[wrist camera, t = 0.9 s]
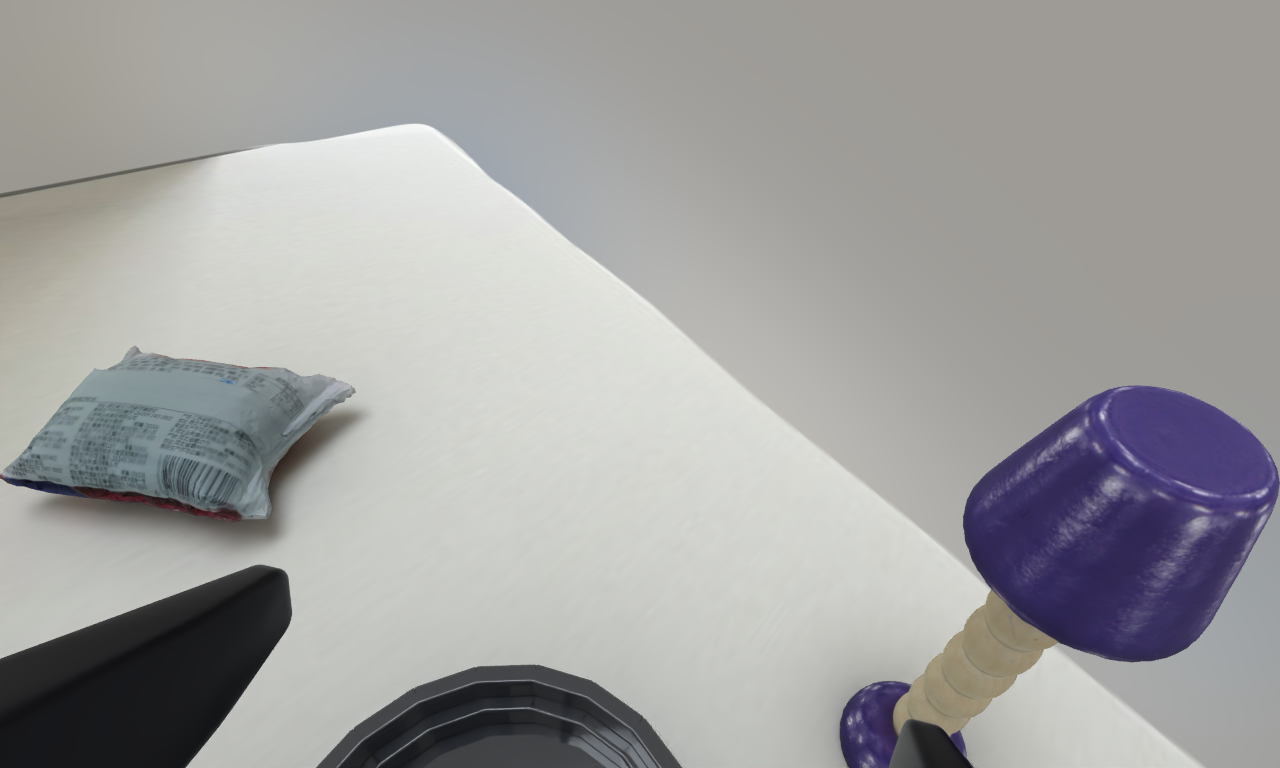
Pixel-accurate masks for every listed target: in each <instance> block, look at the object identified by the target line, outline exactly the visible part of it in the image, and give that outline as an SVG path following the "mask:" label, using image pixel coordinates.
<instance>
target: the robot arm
mask: <svg viewBox="0 0 1280 768" xmlns="http://www.w3.org/2000/svg"><path fill="white" fill-rule="evenodd" d="M291 616H292V607H291V598H290V589H289V580H288V575H287V574H286V572H285V571H284V570H282V569H279V568H275V567H270V566H266V565H255V566H252V567H249V568H246V569H244V570H241V571H238V572H235V573H233V574H230V575H227V576H224V577H222V578H219V579H216V580H214V581H211V582H208V583H205V584H203V585H200V586H197V587H195V588H192V589H189V590H186V591H184V592H181V593H178V594H175V595H173V596H170V597H167V598H165V599H162V600H159V601H156V602H154V603H151V604H148V605H146V606H143V607H140V608H137V609H135V610H132V611H129V612H127V613H124V614H121V615H118V616H116V617H113V618H110V619H107V620H105V621H102V622H99V623H97V624H94V625H91V626H88V627H86V628H83V629H80V630H78V631H75V632H72V633H69V634H67V635H64V636H61V637H58V638H56V639H53V640H50V641H48V642H45V643H42V644H39V645H37V646H34V647H31V648H29V649H26V650H23V651H20V652H18V653H15V654H12V655H9V656H7V657H4V658H1V659H0V768H186V766H187V765H188V764H189V763H190V762H191V760H192V759H193V758H194V757H195V756H196V754H197V753H198V752H199V751H200V749H201V748H202V747H203V746H204V745H205V743H206V742H207V741H208V740H209V738H210V737H211V736H212V735H213V733H214V732H215V731H216V730H217V728H218V727H219V726H220V725H221V723H222V722H223V720H224V719H225V718H226V716H227V715H228V714H229V712H230V711H231V710H232V708H233V707H234V705H235V704H236V702H237V701H238V700H239V698H240V697H241V695H242V694H243V692H244V691H245V689H246V688H247V687H248V685H249V684H250V682H251V681H252V679H253V678H254V676H255V675H256V674H257V672H258V671H259V669H260V668H261V666H262V665H263V663H264V662H265V661H266V659H267V658H268V656H269V655H270V653H271V652H272V650H273V649H274V647H275V646H276V645H277V643H278V642H279V640H280V639H281V637H282V636H283V634H284V633H285V632H286V630H287V628H288V626H289V624H290V621H291ZM889 768H974V767H973V766H972V765H971V763H970V762H969V761H968V760H967V758H966V757H965V756H964V755H963V753H962V752H961V751H960V749H959V748H958V747H957V746H956V744H955V743H954V742H953V741H952V739H951V738H950V737H949V735H948V734H947V733H946V732H945V731H944V729H942V728H941V727H940V726H938V725H936V724H932V723H928V722H924V721H920V720H915V719H908V720H906V722H905V723H904V724H903V726H902V729H901V732H900V735H899V738H898V741H897V744H896V746H895V749H894V752H893V755H892V758H891V761H890V765H889Z"/></svg>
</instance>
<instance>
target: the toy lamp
mask: <svg viewBox="0 0 1280 768" xmlns="http://www.w3.org/2000/svg"><path fill="white" fill-rule="evenodd" d="M1279 484H1280V482H1279V477H1278V471H1277V468H1276V466H1275V463H1274V461H1273V459H1272V457H1271V455H1270V454H1269V452H1268V451H1267V450H1266V449H1265V447H1264V446H1263V445H1262V443H1261V442H1260V441H1259V440H1258V439H1257V438H1256V437H1255V436H1254V435H1253V434H1252V433H1251V431H1250V430H1249V429H1247V428H1246V427H1245V426H1243V425H1242V424H1241V423H1239V422H1238V421H1237V420H1236V419H1234V418H1233V417H1231V416H1229V415H1228V414H1226V413H1224V412H1223V411H1221V410H1219V409H1217V408H1216V407H1214V406H1211V405H1209V404H1207V403H1205V402H1203V401H1201V400H1199V399H1197V398H1194V397H1192V396H1189V395H1187V394H1184V393H1182V392H1178V391H1174V390H1170V389H1165V388H1158V387H1151V386H1124V387H1117V388H1113V389H1109V390H1107V391H1104V392H1102V393H1100V394H1098V395H1096V396H1093V397H1091V398H1089V399H1088V400H1086V401H1085V402H1083V403H1082V404H1080V405H1079V406H1078V407H1076V408H1075V409H1073V410H1072V411H1070V412H1069V413H1068V414H1067V415H1065V416H1064V417H1062V418H1061V419H1059V420H1058V421H1057V422H1055V423H1054V424H1052V425H1051V426H1050V427H1048V428H1047V429H1045V430H1044V431H1043V432H1042V433H1040V434H1039V435H1037V436H1036V437H1034V438H1033V439H1032V440H1030V441H1029V442H1027V443H1026V444H1025V445H1023V446H1022V447H1021V448H1019V449H1018V450H1017V451H1015V452H1014V453H1013V454H1011V455H1010V456H1009V457H1008V458H1006V459H1005V460H1003V461H1002V462H1001V463H999V464H998V465H997V466H996V467H994V468H993V469H992V470H990V471H989V472H988V473H986V474H985V476H984V477H983V478H982V479H981V480H980V481H979V482H978V483H977V484H976V485H975V487H974V488H973V490H972V491H971V493H970V495H969V497H968V499H967V502H966V507H965V512H964V516H963V528H964V534H965V542H966V545H967V547H968V549H969V552H970V555H971V558H972V561H973V562H974V564H975V566H976V568H977V570H978V571H979V572H980V574H981V575H982V577H983V578H984V579H985V581H986V583H987V584H988V586H989V587H990V588H991V591H990V593H989V594H988V597H987V600H986V604H985V605H983V606H981V607H980V608H978V609H977V610H976V611H975V612H974V613H973V614H972V615H971V616H970V617H969V619H968V620H967V622H966V624H965V627H964V630H963V631H961V632H959V633H958V634H956V635H955V636H954V637H953V638H952V639H951V640H950V641H949V642H948V644H947V645H946V647H945V649H944V652H943V653H941V654H940V655H938V656H936V657H935V658H934V659H933V660H932V661H931V662H930V663H929V665H928V666H927V668H926V670H925V673H924V674H923V675H922V676H920V677H919V678H917V679H916V680H915V681H914V683H913V684H912V685H910V684H907V683H903V682H896V681H883V682H878V683H873V684H871V685H869V686H866V687H865V688H863V689H861V690H860V691H858V692H857V693H856V694H855V695H854V696H853V697H852V698H851V699H850V700H849V702H848V703H847V705H846V707H845V708H844V711H843V716H842V719H841V723H840V726H841V728H840V738H841V746H842V749H843V753H844V757H845V759H846V761H847V763H848V765H849V767H850V768H889V765H890V761H891V758H892V755H893V752H894V749H895V746H896V744H897V741H898V738H899V735H900V732H901V729H902V726H903V724H904V723H905V722H906V720H908V719H915V720H920V721H924V722H928V723H932V724H936V725H938V726H940V727H941V728H942V729H944V731H945V732H946V733H947V734H948V735H949V737H950V738H951V739H952V741H953V742H954V743H955V744H956V746H957V747H958V748H959V749H960V751H961V752H962V753H963V755H964V756H965V757H966V758H967V753H966V748H965V743H964V740H963V737H962V734H961V732H960V729H962V728H963V727H964V726H965V725H966V724H967V723H968V721H969V719H970V718H971V717H974V716H976V715H978V714H980V713H981V712H982V711H984V710H985V709H986V707H987V706H988V705H989V704H990V702H991V700H992V698H995V697H997V696H999V695H1001V694H1002V693H1004V692H1005V691H1006V690H1007V689H1009V688H1010V687H1011V685H1012V684H1013V683H1014V681H1015V680H1016V677H1017V675H1019V674H1021V673H1023V672H1025V671H1027V670H1028V669H1030V668H1031V667H1032V666H1033V665H1034V664H1035V663H1036V662H1037V661H1038V660H1039V658H1040V657H1041V655H1042V652H1043V650H1044V649H1047V648H1050V647H1052V646H1053V645H1055V644H1056V643H1058V642H1059V643H1061V644H1064V645H1067V646H1069V647H1072V648H1074V649H1077V650H1080V651H1083V652H1086V653H1089V654H1094V655H1097V656H1100V657H1102V658H1105V659H1110V660H1116V661H1127V662H1140V661H1154V660H1158V659H1163V658H1167V657H1169V656H1172V655H1175V654H1177V653H1179V652H1181V651H1182V650H1184V649H1186V648H1188V647H1189V646H1190V645H1191V644H1192V643H1193V642H1194V641H1196V640H1197V639H1198V638H1199V637H1200V635H1201V634H1202V633H1203V632H1204V630H1205V629H1206V628H1207V627H1208V625H1209V624H1210V623H1211V621H1212V619H1213V618H1214V616H1215V614H1216V612H1217V611H1218V609H1219V607H1220V605H1221V604H1222V602H1223V600H1224V598H1225V596H1226V594H1227V593H1228V591H1229V589H1230V588H1231V586H1232V584H1233V582H1234V581H1235V579H1236V577H1237V576H1238V574H1239V572H1240V570H1241V569H1242V567H1243V565H1244V563H1245V561H1246V559H1247V558H1248V555H1249V553H1250V552H1251V550H1252V548H1253V546H1254V544H1255V542H1256V541H1257V539H1258V537H1259V535H1260V533H1261V532H1262V530H1263V528H1264V526H1265V524H1266V523H1267V520H1268V518H1269V517H1270V515H1271V513H1272V511H1273V508H1274V505H1275V503H1276V500H1277V497H1278V492H1279Z"/></svg>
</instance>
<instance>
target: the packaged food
mask: <svg viewBox="0 0 1280 768" xmlns="http://www.w3.org/2000/svg"><path fill="white" fill-rule="evenodd" d="M354 393H356V392H355V388H353V387H352V386H351V385H349V384H347V383H345V382H342V381H337V380H336V379H335V378H331V377H326V376H323V375H321V374H318V375H314V376H307V377H301V376H299V375H297V374H295V373H293V372H292V371H289V370H287V369H285V368H276V367H256V368H248V367H242V366H236V365H229V364H223V363H216V362H210V361H203V360H193V359H173V358H170V357H167V356H162V355H158V354H154V353H141V352H140V351H139V349H138V348H137V347H136V346H134V347H132V348H130V349H129V351H128V352H127V353H126V355H125V357H124V359H123V360H122V361H121V362H120V363H119V364H117V365H115V366H113V367H111V368H109V369H107V370H98V369H94V370H93V371H92V372H91V373H90V374H89V375H88V376H87V378H86V379H85V380H84V381H83V382H82V383H81V384H80V385H79V386H78V387H77V388H76V390H75V391H74V392H73V393H72V394H71V396H70V397H69V398H68V399H67V400H66V401H65V402H64V403H63V405H62V406H61V407H60V408H59V409H58V411H57V412H56V413H55V414H54V415H53V417H52V418H51V419H50V420H49V422H48V423H47V424H46V425H45V426H44V428H43V429H42V430H41V431H40V432H39V433H38V434H37V435H36V436H35V437H34V438H33V440H32V441H31V443H30V445H29V446H28V448H27V449H26V450H25V451H24V452H23V453H22V454H21V455H20V456H19V457H18V458H17V459H16V460H15V461H14V462H12V463H11V464H10V465H9V466H8V467H7V468H5V469H4V470H3V472H2V473H1V474H0V479H3V480H4V481H6V482H7V483H9V484H12V485H15V486H24V487H28V488H31V489H35V490H40V491H44V492H48V493H55V494H62V495H70V496H77V497H84V498H95V499H109V500H112V501H124V502H143V503H145V504H148V505H151V506H154V507H158V508H167V509H170V510H174V511H182V512H187V513H190V514H193V515H197V516H209V517H211V518H214V519H221V520H224V521H229V522H235V521H240V520H243V519H269V516H270V514H271V512H272V507H271V502H270V499H269V495H268V486H269V481H270V478H271V476H272V473H273V470H274V468H275V467H276V465H277V464H278V462H279V460H280V459H282V458H283V457H284V456H285V455H286V454H287V452H288V450H289V449H290V448H291V447H292V446H293V445H294V444H295V443H296V442H297V441H298V439H299V438H300V437H301V436H302V435H303V434H304V433H306V432H307V431H308V430H309V429H310V428H311V427H312V426H313V425H314V424H315V423H316V422H317V421H318V420H319V419H320V418H321V417H322V416H324V415H325V414H326V413H328V412H329V411H330V409H331V408H332V407H333V406H334V405H335V404H338V403H342V402H344V401H345V399H346V398H349V397H351V395H352V394H354Z"/></svg>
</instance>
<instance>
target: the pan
mask: <svg viewBox="0 0 1280 768" xmlns="http://www.w3.org/2000/svg"><path fill="white" fill-rule="evenodd" d="M316 768H682V767H681V765H680V764H679V763H678V761H677V760H676V759H675V757H674V756H673V755H672V753H671V752H670V751H669V749H668V748H667V747H666V745H665V744H664V743H663V741H662V740H661V739H660V737H659V736H658V735H657V733H656V732H655V731H654V729H653V728H652V727H651V725H650V724H649V723H648V721H647V720H646V719H645V718H644V719H643V716H642V715H640V714H639V713H638V712H636V711H635V710H633V709H632V708H630V707H629V706H628V705H626V704H625V703H623V702H622V701H621V700H619V699H618V698H616V697H615V696H613V695H612V694H611V693H609V692H608V691H606V690H605V689H604V688H602V687H601V686H599V685H598V684H597V683H595V682H593V681H591V680H588V679H584V678H581V677H578V676H574V675H571V674H567V673H564V672H561V671H557V670H554V669H551V668H547V667H544V666H540V665H537V666H536V665H509V666H478V667H477V668H476V667H474V668H471V669H468V670H465V671H462V672H459V673H456V674H453V675H450V676H447V677H444V678H441V679H438V680H435V681H432V682H429V683H426V684H423V685H420V686H417V687H415V689H414V688H413V689H411V690H410V691H408V692H407V693H405V694H404V695H402V696H401V697H399V698H398V699H396V700H395V701H393V702H392V703H390V704H389V705H387V706H386V707H384V708H383V709H381V710H380V711H378V712H377V713H375V714H374V715H372V716H371V717H369V718H368V719H366V720H365V721H363V722H362V723H360V724H359V725H357V726H356V727H355V728H354V730H353V729H352V730H351V731H350V732H349V733H348V734H347V735H346V736H345V737H344V738H343V739H342V740H341V742H340V743H339V744H338V745H337V746H336V747H335V748H334V749H333V750H332V751H331V752H330V753H329V754H328V755H327V757H326V758H325V759H324V760H323V761H322V762H321V763H320V764H319V765H318V766H317V767H316Z"/></svg>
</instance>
